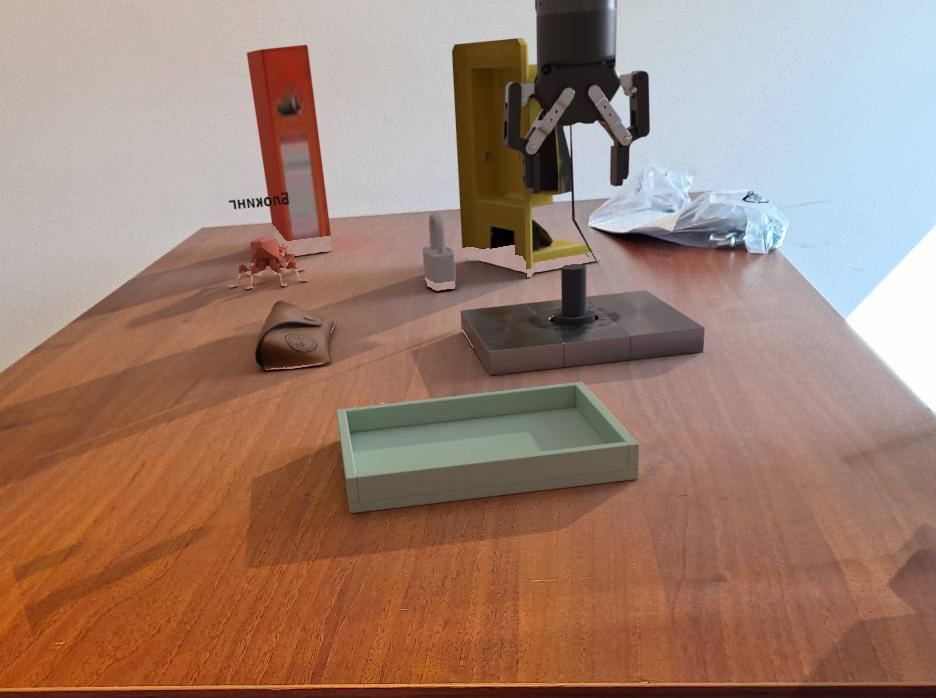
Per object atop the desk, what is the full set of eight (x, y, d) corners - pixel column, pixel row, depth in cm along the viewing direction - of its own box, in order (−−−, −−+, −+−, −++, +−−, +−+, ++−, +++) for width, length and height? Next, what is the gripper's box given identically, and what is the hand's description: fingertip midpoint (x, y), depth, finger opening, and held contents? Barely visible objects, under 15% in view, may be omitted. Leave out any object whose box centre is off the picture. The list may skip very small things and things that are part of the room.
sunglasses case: (334, 360, 105) (296, 310, 103) (283, 397, 107) (244, 349, 104) (338, 320, 121) (304, 276, 119) (293, 353, 123) (260, 310, 121)
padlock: (420, 283, 139) (415, 210, 135) (448, 279, 140) (443, 207, 135) (432, 293, 133) (426, 217, 128) (460, 289, 133) (456, 213, 129)
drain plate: (645, 311, 115) (646, 289, 114) (703, 351, 99) (705, 327, 98) (461, 331, 114) (460, 310, 113) (490, 376, 98) (488, 351, 97)
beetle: (306, 285, 144) (295, 196, 139) (224, 292, 145) (210, 204, 139) (316, 265, 158) (306, 183, 152) (241, 272, 158) (228, 190, 153)
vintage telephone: (643, 270, 134) (650, 25, 121) (559, 287, 129) (557, 34, 116) (520, 243, 160) (514, 38, 147) (446, 256, 155) (433, 46, 142)
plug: (588, 333, 108) (588, 260, 105) (599, 344, 104) (600, 268, 101) (549, 338, 108) (548, 265, 105) (559, 348, 104) (558, 272, 101)
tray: (581, 411, 86) (582, 381, 85) (638, 479, 72) (639, 443, 71) (339, 439, 85) (336, 409, 84) (349, 513, 71) (345, 478, 70)
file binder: (286, 258, 166) (258, 49, 152) (273, 243, 181) (246, 51, 167) (332, 251, 168) (309, 44, 153) (315, 237, 183) (292, 47, 168)
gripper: (510, 13, 88) (514, 200, 95) (663, -1, 89) (656, 186, 96) (494, 16, 95) (499, 191, 102) (637, 4, 95) (632, 178, 103)
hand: (575, 189), depth 99 cm, fingers open, 8 cm apart
